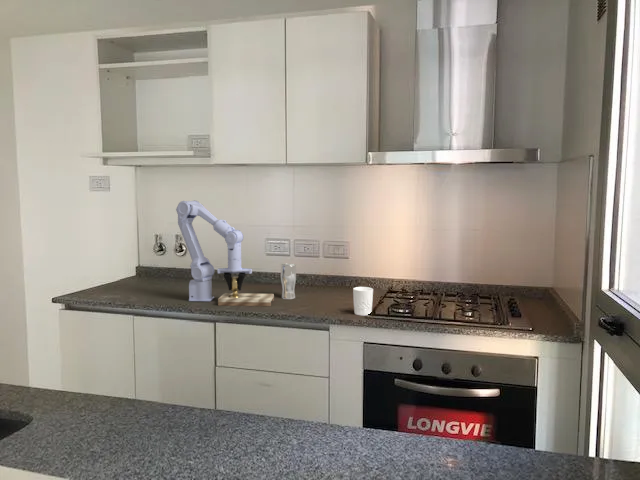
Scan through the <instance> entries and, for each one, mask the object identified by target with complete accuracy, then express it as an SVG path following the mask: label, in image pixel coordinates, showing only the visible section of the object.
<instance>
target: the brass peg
mask: <svg viewBox="0 0 640 480" xmlns="http://www.w3.org/2000/svg"><path fill="white" fill-rule="evenodd" d="M230 291H232V293H233V296H230V297H231V298H240V296H238V293H239V278H238V276H231V290H230Z"/></svg>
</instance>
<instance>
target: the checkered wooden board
mask: <svg viewBox="0 0 640 480" xmlns="http://www.w3.org/2000/svg"><path fill="white" fill-rule="evenodd" d="M230 296H233V292H232V293H231V292H229V293H227V292H225V293H224V292H223V294H221V295H220V297H219V298H217V305H218V306H220V307H221V306H230V307H236V306H237V307H239V306H240V307H271V306H272V302H274V301H275V295H274V293H245V292H244V293H243V292H242V293H240V292H238V296H240V298H231V297H230Z"/></svg>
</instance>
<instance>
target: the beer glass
mask: <svg viewBox="0 0 640 480" xmlns="http://www.w3.org/2000/svg"><path fill="white" fill-rule="evenodd" d="M280 281H281V287H282V292H281V299H283V300H293V299H296V294H295V286H296V281H297V264H296V263H295V264H294V263H282V264H280Z"/></svg>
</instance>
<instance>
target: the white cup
mask: <svg viewBox="0 0 640 480" xmlns="http://www.w3.org/2000/svg"><path fill="white" fill-rule="evenodd" d="M352 291H353V292H352V295H353V296H352V297H353V298H352V299H353V311H354V312H353V313H354V315H356V316H365V317H366V316H369V315H368V314H370V313H371V312H372V311H373V299H374V296H373V295H374V288H372V287H368V286H356V287H353V289H352ZM372 313H373V312H372Z"/></svg>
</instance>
